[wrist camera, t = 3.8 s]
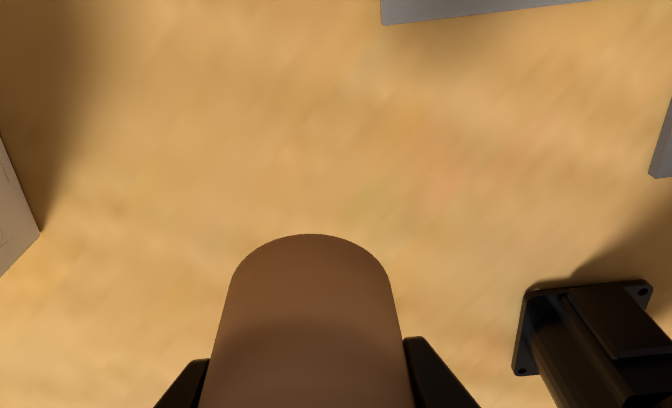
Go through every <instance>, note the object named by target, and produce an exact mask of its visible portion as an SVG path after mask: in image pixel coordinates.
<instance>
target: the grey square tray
mask: <svg viewBox="0 0 672 408" xmlns="http://www.w3.org/2000/svg"><path fill="white" fill-rule="evenodd" d="M585 1H593V0H380V4H381V23H382V25H383V26H387V25H395V24H403V23H411V22H420V21H428V20H436V19H444V18H453V17H461V16H469V15H478V14H486V13H494V12H502V11H511V10H519V9H527V8H535V7H544V6H552V5H560V4H569V3H577V2H585Z"/></svg>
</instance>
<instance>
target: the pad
mask: <svg viewBox="0 0 672 408" xmlns="http://www.w3.org/2000/svg"><path fill="white" fill-rule="evenodd" d="M648 174H649V175H651V176H652V177H654V178H655V179H657V178H666V177H672V99H671V102H670V105H669V108H668V111H667V115H666V118H665V121H664V124H663V127H662V130H661V133H660V136H659V140H658V143H657V146H656V149H655V152H654V155H653V158H652V162H651V165H650V168H649V171H648Z"/></svg>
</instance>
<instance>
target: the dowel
mask: <svg viewBox="0 0 672 408" xmlns="http://www.w3.org/2000/svg"><path fill="white" fill-rule="evenodd" d="M198 408H417V404H416V399H415V395H414V390H413V386H412V381H411V377H410V372H409V368H408V363H407V359H406V354H405V350H404V345H403V340H402V335H401V331H400V326H399V322H398V317H397V313H396V308H395V304H394V299H393V294H392V290H391V285H390V282H389V279H388V276H387V274H386V272H385V270H384V268H383V267H382V265H381V264H380V263H379V261H378V260H377V259H376V258H375V257H374V256H373V255H372V254H370V253H369V252H368V251H366V250H365V249H364V248H362V247H360V246H358V245H356V244H355V243H352V242H350V241H347V240H345V239H341V238H338V237H334V236H328V235H322V234H298V235H292V236H287V237H283V238H279V239H276V240H273V241H271V242H269V243H266V244H264V245H262V246H261V247H259V248H257V249H256V250H254V251H253V252H252V253H250V254H249V255H248V256H247V257H246V258H245V259H244V260H243V261H242V262H241V263H240V264H239V266H238V267H237V268H236V270H235V272H234V274H233V276H232V279H231V282H230V285H229V289H228V293H227V297H226V301H225V305H224V308H223V312H222V316H221V320H220V324H219V328H218V331H217V335H216V339H215V343H214V347H213V351H212V355H211V358H210V362H209V366H208V370H207V374H206V378H205V381H204V385H203V389H202V393H201V397H200V401H199V404H198Z"/></svg>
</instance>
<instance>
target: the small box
mask: <svg viewBox="0 0 672 408" xmlns="http://www.w3.org/2000/svg"><path fill="white" fill-rule="evenodd" d="M39 236H40V232H39V229H38V227H37V225H36V222H35V220H34V218H33V215H32V213H31V211H30V208H29V206H28V203H27V201H26V199H25V196H24V194H23V191H22V189H21V187H20V184H19V181H18V179H17V176H16V174H15V172H14V169H13V167H12V165H11V162H10V160H9V157H8V155H7V152H6V150H5V147H4V145H3V142H2V140H1V138H0V277H1V276H2V275H3V274H4V273H5V272H6V271H7V270H8V269H9V268H10V267H11V266H12V265H13V264H14V263H15V262H16V261H17V259H18V258H19V257H20V256H21V255H22V254H23V253H24V252H25V251H26V250H27V249H28V248H29V247H30V246H31V245H32V244H33V243H34V241H36V240H37V239H38V237H39Z"/></svg>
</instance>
